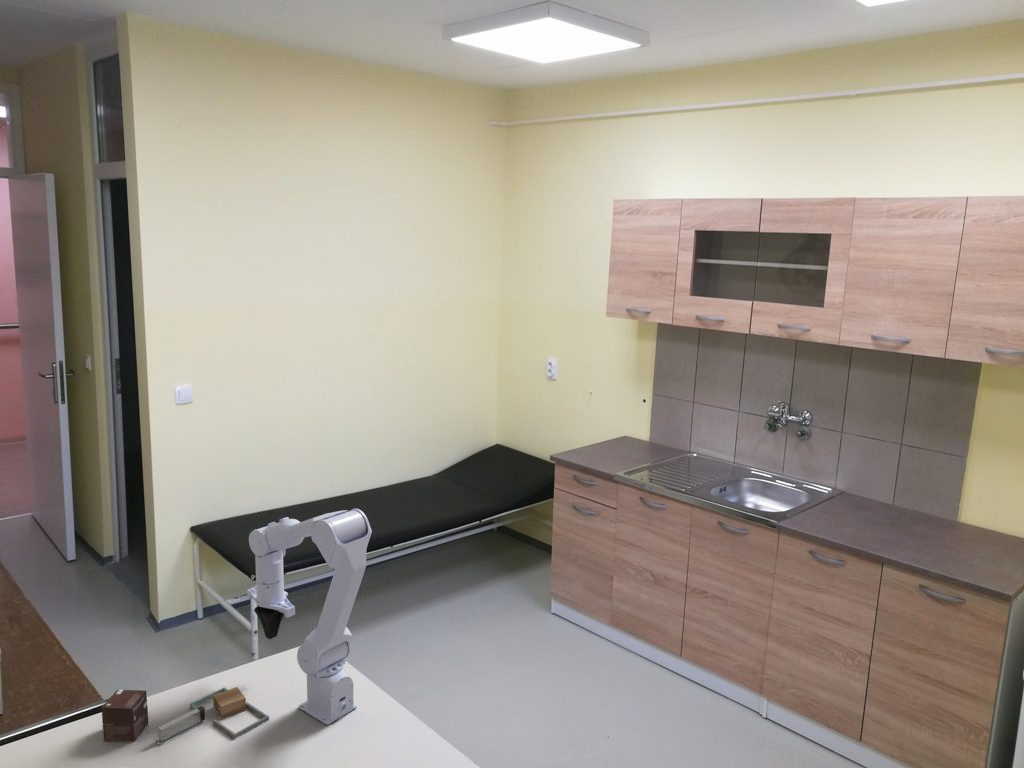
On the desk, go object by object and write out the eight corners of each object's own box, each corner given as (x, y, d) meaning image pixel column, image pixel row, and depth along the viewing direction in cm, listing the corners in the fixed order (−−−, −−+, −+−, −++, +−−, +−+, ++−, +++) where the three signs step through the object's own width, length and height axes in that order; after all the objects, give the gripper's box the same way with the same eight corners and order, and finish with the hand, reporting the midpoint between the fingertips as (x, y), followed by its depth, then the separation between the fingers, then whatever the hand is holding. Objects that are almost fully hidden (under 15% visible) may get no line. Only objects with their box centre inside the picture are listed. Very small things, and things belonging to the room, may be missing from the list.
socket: (269, 719, 153) (268, 716, 153) (185, 766, 139) (185, 762, 139) (238, 699, 159) (238, 696, 159) (155, 742, 145) (155, 738, 145)
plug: (246, 711, 156) (245, 698, 155) (221, 720, 153) (221, 706, 152) (237, 699, 160) (237, 686, 159) (213, 708, 157) (212, 695, 156)
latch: (205, 719, 152) (204, 708, 151) (161, 741, 145) (161, 730, 144) (201, 716, 153) (201, 705, 152) (158, 739, 145) (157, 727, 145)
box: (134, 743, 145) (131, 708, 144) (102, 741, 145) (100, 707, 144) (149, 723, 151) (147, 689, 150) (119, 722, 151) (117, 688, 150)
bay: (236, 698, 160) (236, 695, 160) (202, 715, 154) (202, 712, 153) (224, 690, 162) (224, 687, 162) (190, 707, 156) (190, 703, 156)
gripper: (306, 582, 163) (307, 640, 166) (265, 564, 172) (267, 619, 174) (278, 593, 158) (280, 653, 160) (238, 574, 166) (240, 631, 169)
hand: (271, 636), depth 167 cm, fingers closed
